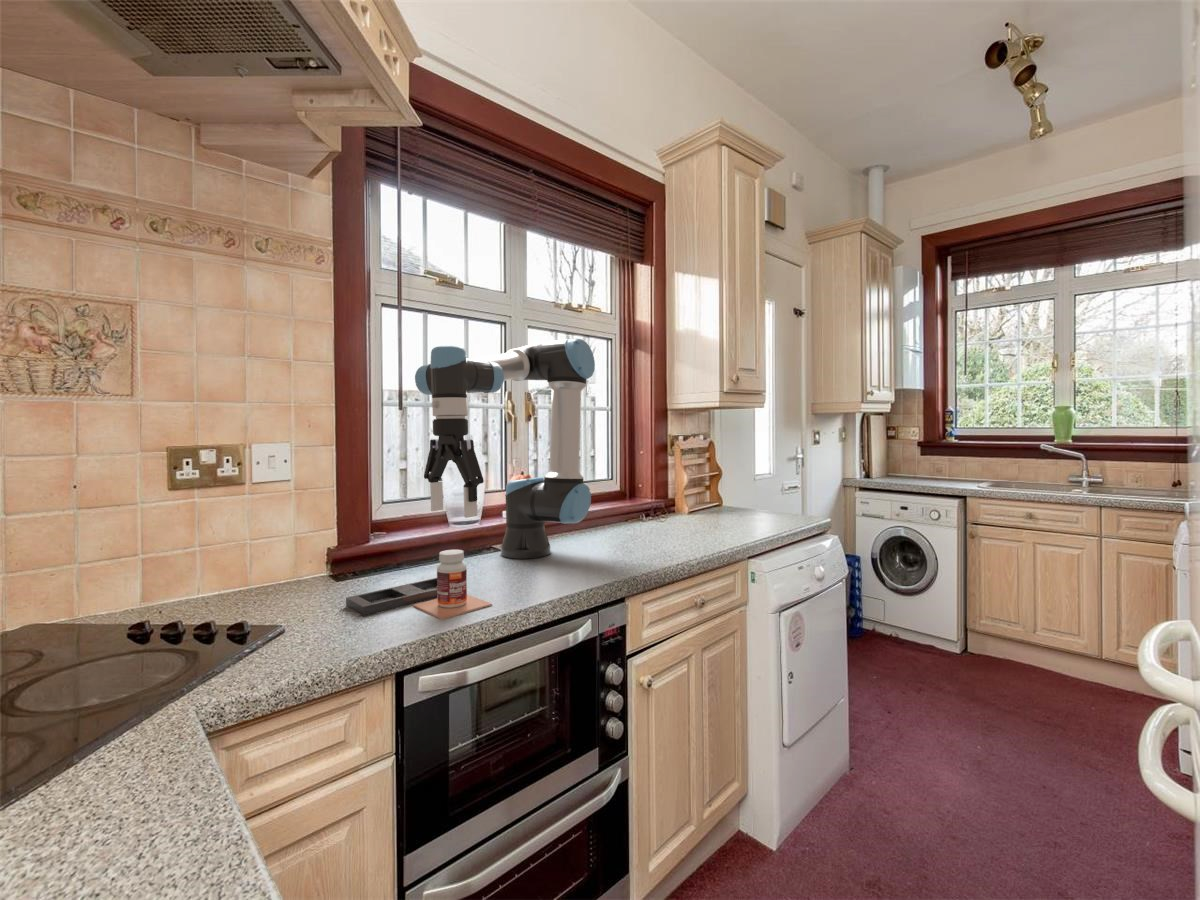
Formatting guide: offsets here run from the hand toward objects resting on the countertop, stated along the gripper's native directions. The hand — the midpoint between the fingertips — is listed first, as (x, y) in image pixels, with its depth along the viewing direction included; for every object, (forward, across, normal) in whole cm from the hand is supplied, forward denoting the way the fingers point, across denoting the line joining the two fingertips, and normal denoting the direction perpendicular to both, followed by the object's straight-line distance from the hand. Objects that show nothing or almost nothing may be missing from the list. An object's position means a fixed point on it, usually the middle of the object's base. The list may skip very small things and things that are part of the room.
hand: (453, 513), depth 120 cm
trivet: (+19, +3, -3) cm, 20 cm away
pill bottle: (+19, +3, -3) cm, 20 cm away
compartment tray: (+19, -9, -7) cm, 22 cm away
